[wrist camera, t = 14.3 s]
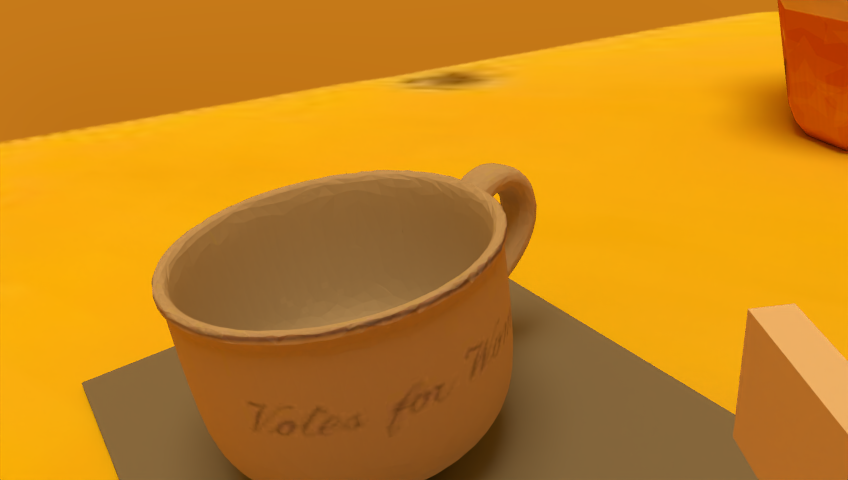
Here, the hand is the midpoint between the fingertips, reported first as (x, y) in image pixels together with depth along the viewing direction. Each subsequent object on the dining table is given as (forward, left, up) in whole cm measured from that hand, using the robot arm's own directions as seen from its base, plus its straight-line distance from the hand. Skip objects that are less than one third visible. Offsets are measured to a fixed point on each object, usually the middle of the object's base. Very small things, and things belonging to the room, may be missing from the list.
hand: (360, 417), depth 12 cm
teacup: (-6, -10, -10) cm, 15 cm away
